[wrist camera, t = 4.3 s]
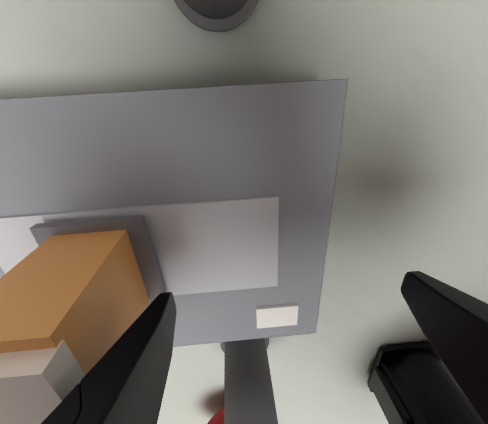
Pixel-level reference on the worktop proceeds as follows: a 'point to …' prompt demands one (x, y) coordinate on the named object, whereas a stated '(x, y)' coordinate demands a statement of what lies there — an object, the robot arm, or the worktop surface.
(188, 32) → the worktop surface
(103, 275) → the block
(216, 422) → the onion
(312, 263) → the panel
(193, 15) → the cable post
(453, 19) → the worktop surface
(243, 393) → the cable post
